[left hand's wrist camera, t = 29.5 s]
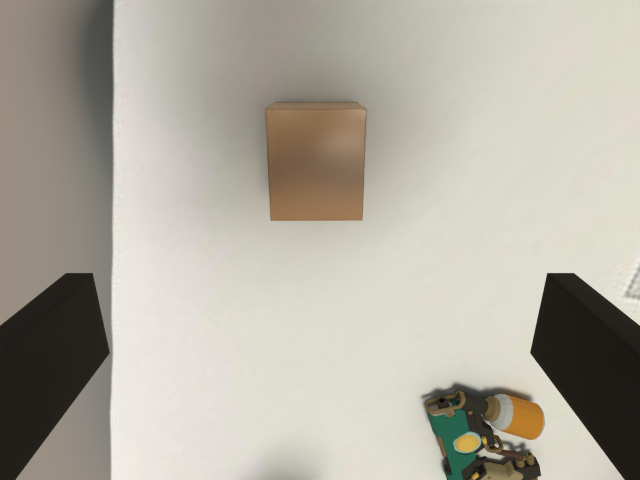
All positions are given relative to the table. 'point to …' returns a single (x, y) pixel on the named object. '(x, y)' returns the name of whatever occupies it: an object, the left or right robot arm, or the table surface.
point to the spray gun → (484, 435)
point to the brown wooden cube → (316, 160)
